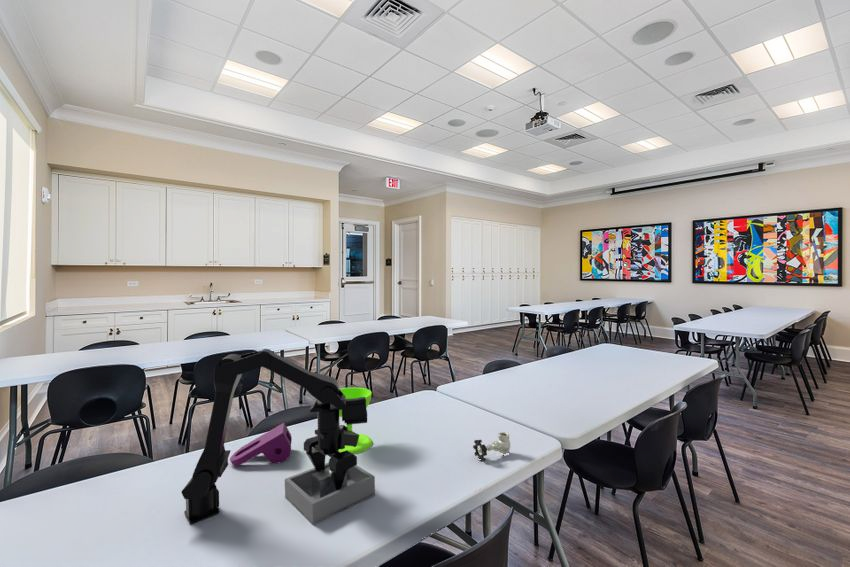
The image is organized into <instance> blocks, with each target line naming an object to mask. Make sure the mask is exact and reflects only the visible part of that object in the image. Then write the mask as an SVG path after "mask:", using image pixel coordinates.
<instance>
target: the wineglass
mask: <svg viewBox="0 0 850 567" xmlns="http://www.w3.org/2000/svg"><path fill="white" fill-rule="evenodd" d="M339 389H340V390H341V392H342V393H343V394H344V395H345V396H346V399H353V398H360V397H365V398H366V409H367V408H368V407H369V405H370V402H371V400H372V395H373V394H372V391H371V390H370V389H368V388H366V387H365V388H364V387H342V388H339ZM339 418H342V410H339ZM346 426H347V427H348V430H350V431H353V424H350V425H346ZM358 434H359V439H358V443H357V446H356V447H353V446H345V448H344V449H339V452H344V451H346V450H347V451H349V452H351V453H352V454H354V455H356V454H355V453H358V454H360V453H359V452H361V453H363V452H362V451H364V452H366V451H367V450H366V449H368V448H369V447H370V446H371V445H372V446H373V440H372V438H371V437H370V436H368V435H365V434H362V433H358ZM372 446H371V447H372ZM371 447H370V448H371ZM370 448H369V449H370ZM369 449H368V450H369ZM365 450H366V451H365Z"/></svg>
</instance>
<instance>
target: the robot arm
mask: <svg viewBox="0 0 850 567" xmlns="http://www.w3.org/2000/svg"><path fill="white" fill-rule="evenodd" d="M259 368H264V369H265V370H266V369H267V370H269V371H271V372H272V373H274V374H277V375H278V376H280V377H283V378H285V379H286V380H288V381H289V382H292V383H294V384H296V385H298V386H299V387H302V388H303V389H305V390H306V392H308V393H309V394H310V395H311V396H312V397H313V398H314V399H315V401H314V403H313V404H311V406H310V409H309V412H310V413H317V429H314V435H315V436H313V437H309V438H306V439H305V441H303V451H305V454H306V455H307V457H308V458H309V460H310V462H311V464H312V467H313V468H315V470H316V472H319V471H321V470H324V468H325V464H326V457H329V460H328V462H329V466H330V468H329V471H330V474H331V477H332V480H333V483H334V486H335V488H336V491H337V490H340V489H341V487H342V484H343V481H344V478H345V475H346V472H347V470H348V469H350V468H352V467H353V466H356V465H357V466H358V457H357V456H356V454H352V453H351V452H349V451H347V450H346V451H344V452H339V449H344V448H345V446H353V447H356V446H357V443H358V439H359V434H360V433H357V432H355V431H353V430H352V431H350V430H348V427H347V425H350V424H352V425H360V424H367V423H368V409H367V408H366V398H365V397H360V398H353V399H346V396H345V395H344V394H343V393H342V392H341V390H340V389H341V388H340V384H339V382H338V380H337V379H336V378H334V377H333V376H329V375H327V374H323V373H318V372H317V373H316V372H313V371H310V370H308V369H306V368H304V367H302V366H301V365H298V364H296V363H295V362H292V361H291V360H288V359H287V358H285V357H282V356H281V355H280V354H277V353H275V352H274V351H273V350H271V349H269V348H264V349H261V350H258V351H253V352H249V353H243V354H241V355H240V354H236V353H231V354H228V355H227V356H225V357H223V358H222V359H221V360H219V361H217V362H216V364H215V365H214V367H213V384H214V385H213V387H214V390H215V395H214V399H213V405H212V410H211V415H210V419H209V424H208V429H207V434H206V439H205V443H204V444H205V445H204V448H203V451H202V452H201V455H200V457H199V459H198V461H197V463H196V466H195V469H194V471H193V473H192V477H191V478H190V479H189V481H188V482H187V484H186V485H185V486H184V487H183V489H182V490H181V494H182V497H183V499H184V500H185V509H184V513H183V514H184V516H185V517H186V519H187V522H188V523H189V525H191V524H195V523H197V522H200V521H202V520H205V519H208V518H210V517H212V516H215V515H217V514H219V513H220V509H219V507H220V492H219V491H220V490H219V489H218V488H217V485H216V483H217V482H218V480H219V478H221V477H222V476H223V474H224V472H225V470H226V469H227V467H228V465H229V458H230V457H229V456H230V453H231V450H230V449H229V450H226V448H225V439H226V434H227V430H228V427H229V426H228V425H229V419H230V415H231V409H232V407H233V406H232V405H233V401H234V395H235V391H236V388H237V387H238V384H239V383H240V380H241V378H242V376H243V374H245V373H248V372H251V371H254V370H256V369H259ZM339 410H342V417H341V422H343V423H344V424H345V425H344V424H343V425H342V424H340V417H339Z"/></svg>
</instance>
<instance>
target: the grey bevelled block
mask: <svg viewBox="0 0 850 567" xmlns="http://www.w3.org/2000/svg"><path fill="white" fill-rule="evenodd" d="M329 468H330V467H329ZM329 468H326V469H324V470H321V471H319V472H316V473H313V474H312V497H313V498H314V499H316V500H317V499H319V498H321V497H324V496H326V495H328V494H331V493H333V492H335V491H336V488H335V486H334V483H333V480H332V477H331V474H330V471H329ZM346 486H347V472H346V475H345V478H344V481H343V484H342V487H341V489H342V488H344V487H346Z"/></svg>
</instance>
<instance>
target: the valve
mask: <svg viewBox="0 0 850 567" xmlns="http://www.w3.org/2000/svg"><path fill="white" fill-rule="evenodd" d="M473 442H474V445H473V446H472V448H473V450H475V451H474V456H475V457H477V459H478V458H479V459H481V461H482V462H485V461H486V460H487V459H486V457H485V456H487V455H488V453H487V452H490V451H495V452H498V453H499V452H500V453H503V454H506V453H510V449H511V442H510V433H508V432H502V431H501V432H498V439H497V440H495V441H492V443H491V444H488V445H485V444H482V443H483V440H482V439H474V441H473Z"/></svg>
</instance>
